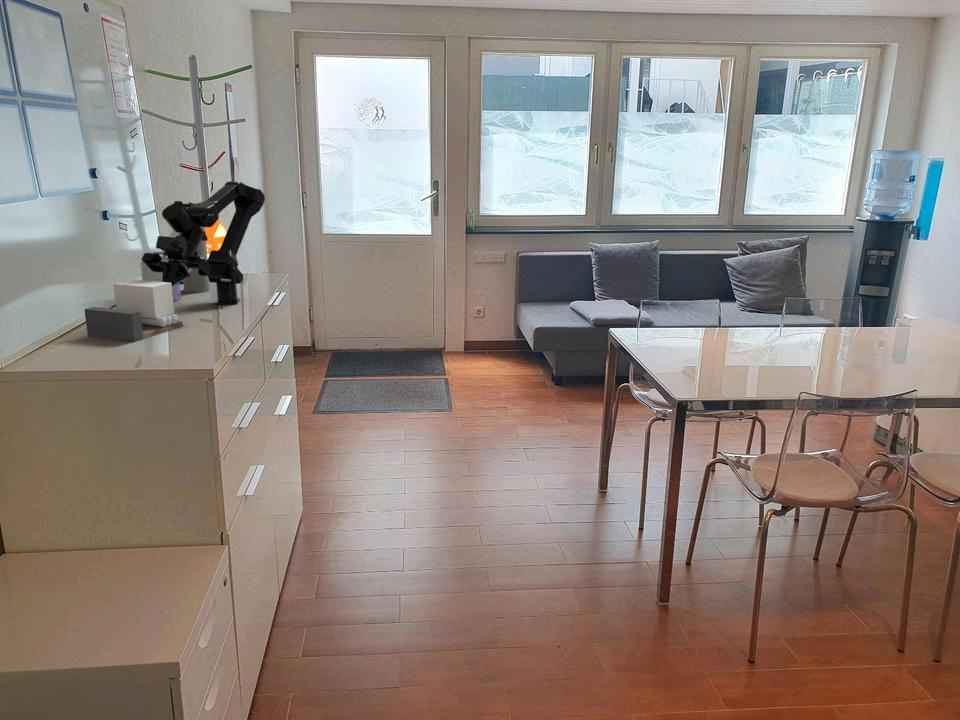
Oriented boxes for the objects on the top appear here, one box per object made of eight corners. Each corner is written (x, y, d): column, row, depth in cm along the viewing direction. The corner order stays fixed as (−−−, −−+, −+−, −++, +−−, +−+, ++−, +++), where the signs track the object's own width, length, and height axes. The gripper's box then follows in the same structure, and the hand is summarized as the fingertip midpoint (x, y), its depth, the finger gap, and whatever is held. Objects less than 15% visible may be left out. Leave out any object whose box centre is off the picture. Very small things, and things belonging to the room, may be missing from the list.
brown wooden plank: (139, 321, 203) (138, 317, 203) (182, 325, 199) (182, 321, 199) (87, 336, 187) (87, 331, 186) (134, 341, 183) (134, 337, 182)
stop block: (96, 333, 189) (93, 306, 187) (143, 339, 185) (140, 311, 184) (87, 336, 187) (84, 309, 185) (134, 341, 183) (131, 313, 181)
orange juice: (216, 273, 278) (212, 218, 273) (233, 275, 274) (229, 220, 268) (199, 276, 272) (195, 220, 266) (216, 278, 267) (212, 221, 262)
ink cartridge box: (181, 297, 234) (177, 251, 230) (178, 301, 229) (173, 254, 225) (148, 298, 232) (143, 251, 228) (143, 301, 227) (138, 254, 223)
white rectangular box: (133, 317, 201) (129, 279, 198) (178, 322, 197) (175, 283, 194) (114, 323, 195) (109, 283, 192) (160, 327, 191) (156, 287, 188)
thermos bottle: (199, 287, 251) (192, 202, 244) (215, 290, 247) (208, 203, 239) (179, 290, 245) (171, 203, 237) (194, 293, 241) (187, 204, 233)
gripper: (142, 222, 204) (117, 268, 197) (201, 226, 199) (177, 273, 192) (164, 248, 213) (141, 293, 206) (221, 252, 208) (199, 298, 201)
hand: (163, 289), depth 201 cm, fingers closed
